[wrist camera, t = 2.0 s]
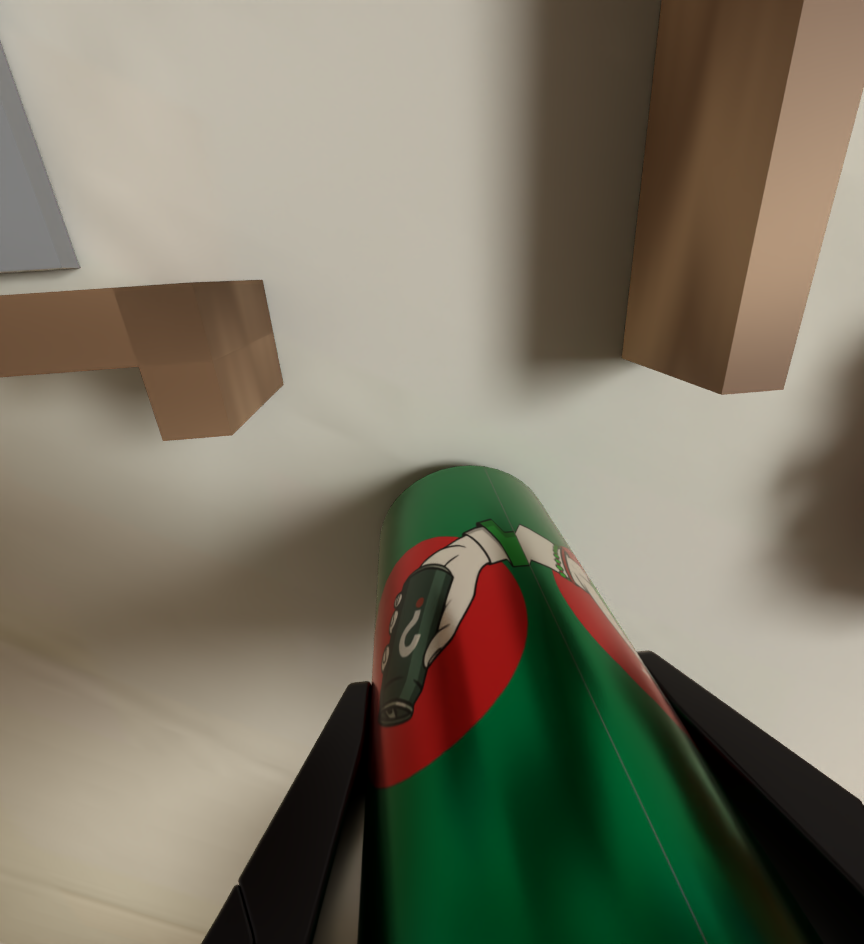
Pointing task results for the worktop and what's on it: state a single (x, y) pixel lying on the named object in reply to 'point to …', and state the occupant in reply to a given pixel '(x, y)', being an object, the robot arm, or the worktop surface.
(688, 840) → the soda can
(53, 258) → the slate coaster
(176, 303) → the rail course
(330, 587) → the worktop surface
